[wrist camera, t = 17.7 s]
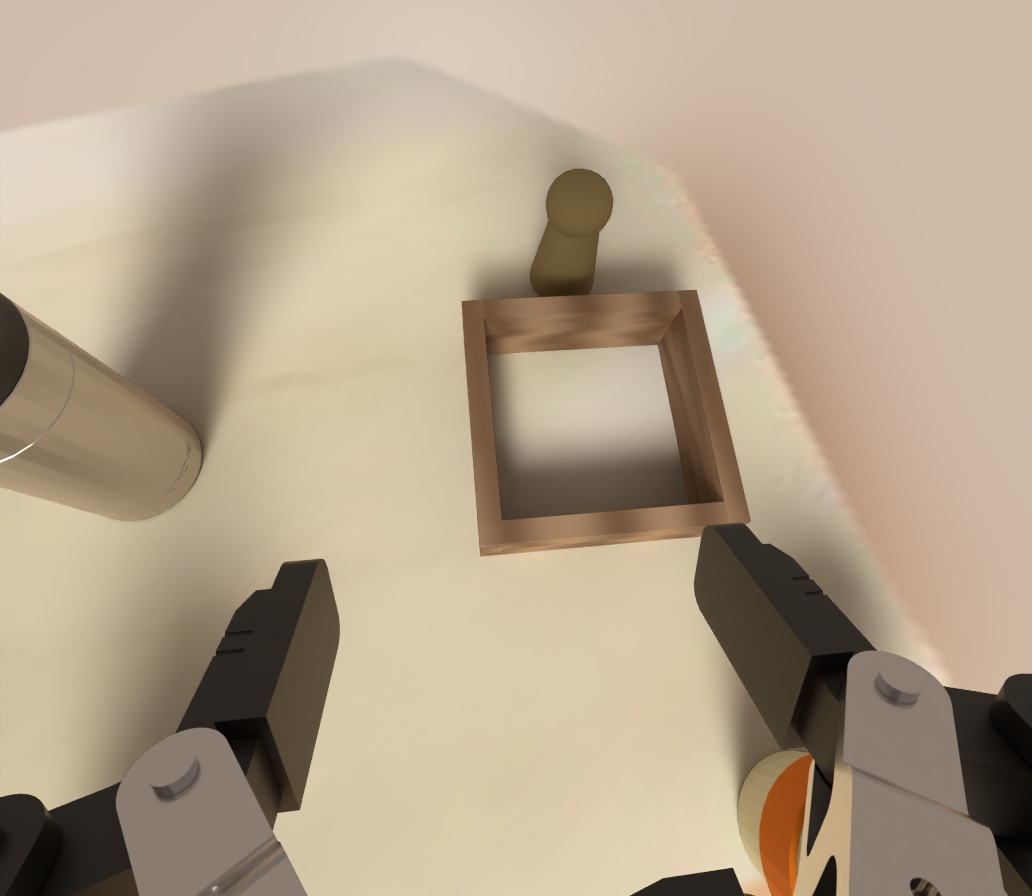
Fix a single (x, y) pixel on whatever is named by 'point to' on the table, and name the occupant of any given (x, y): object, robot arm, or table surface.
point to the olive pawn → (571, 234)
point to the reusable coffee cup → (775, 817)
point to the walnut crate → (691, 398)
